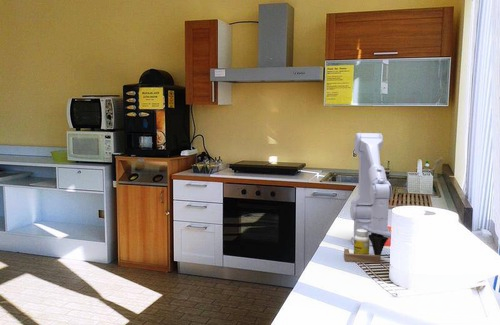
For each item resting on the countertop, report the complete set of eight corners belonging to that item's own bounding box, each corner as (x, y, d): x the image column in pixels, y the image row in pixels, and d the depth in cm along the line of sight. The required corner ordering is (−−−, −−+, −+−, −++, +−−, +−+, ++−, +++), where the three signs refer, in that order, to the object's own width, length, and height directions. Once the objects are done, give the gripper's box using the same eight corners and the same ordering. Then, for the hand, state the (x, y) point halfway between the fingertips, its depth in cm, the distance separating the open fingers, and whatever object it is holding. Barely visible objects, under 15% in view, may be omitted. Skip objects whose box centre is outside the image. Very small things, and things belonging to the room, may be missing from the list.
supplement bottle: (350, 255, 176) (351, 229, 175) (361, 253, 178) (362, 227, 177) (360, 260, 171) (361, 232, 170) (372, 257, 173) (373, 231, 172)
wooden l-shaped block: (344, 255, 176) (344, 248, 176) (378, 257, 174) (378, 250, 174) (345, 261, 169) (345, 254, 169) (380, 263, 167) (380, 256, 167)
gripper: (403, 220, 166) (401, 258, 167) (372, 212, 178) (371, 248, 180) (388, 222, 162) (387, 261, 164) (358, 213, 175) (356, 250, 176)
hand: (377, 254), depth 172 cm, fingers closed
